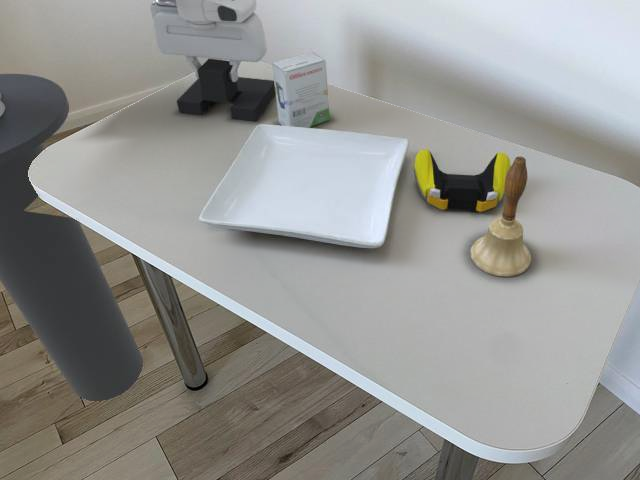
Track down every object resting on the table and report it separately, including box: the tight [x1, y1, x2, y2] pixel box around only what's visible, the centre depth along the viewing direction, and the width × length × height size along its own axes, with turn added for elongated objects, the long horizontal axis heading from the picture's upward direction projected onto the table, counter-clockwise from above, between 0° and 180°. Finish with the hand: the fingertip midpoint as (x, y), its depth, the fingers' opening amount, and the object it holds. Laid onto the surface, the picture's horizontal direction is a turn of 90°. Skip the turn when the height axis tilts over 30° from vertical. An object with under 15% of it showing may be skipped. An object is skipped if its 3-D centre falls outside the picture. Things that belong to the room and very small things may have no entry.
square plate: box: [198, 123, 410, 249], centre depth 87 cm, size 27×27×4 cm
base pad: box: [176, 76, 276, 122], centre depth 110 cm, size 16×12×2 cm
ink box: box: [271, 52, 330, 128], centre depth 100 cm, size 9×5×12 cm, turn 123°
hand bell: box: [469, 156, 532, 278], centre depth 72 cm, size 8×8×16 cm
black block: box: [197, 58, 238, 104], centre depth 105 cm, size 5×5×6 cm
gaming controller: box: [413, 148, 512, 213], centre depth 86 cm, size 15×6×10 cm
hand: (217, 78), depth 104 cm, fingers closed on black block, 5 cm apart
